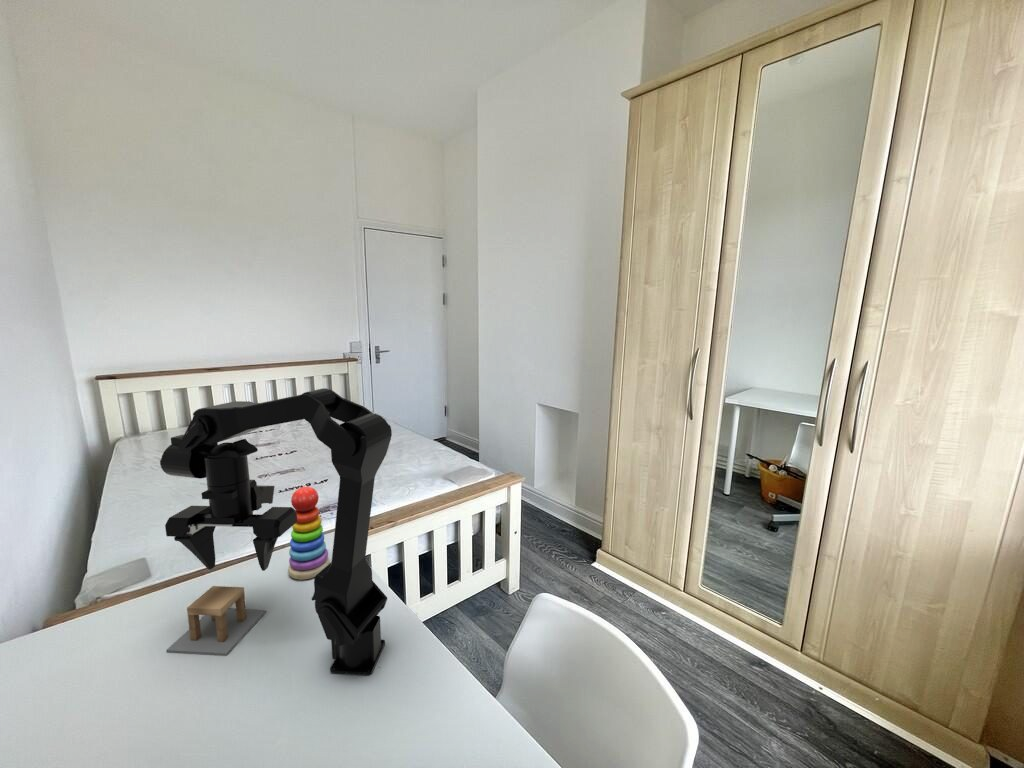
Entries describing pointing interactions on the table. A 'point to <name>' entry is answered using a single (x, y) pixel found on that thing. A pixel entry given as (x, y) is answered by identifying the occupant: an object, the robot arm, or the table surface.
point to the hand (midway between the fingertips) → (238, 568)
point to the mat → (209, 634)
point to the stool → (216, 609)
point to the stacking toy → (307, 537)
